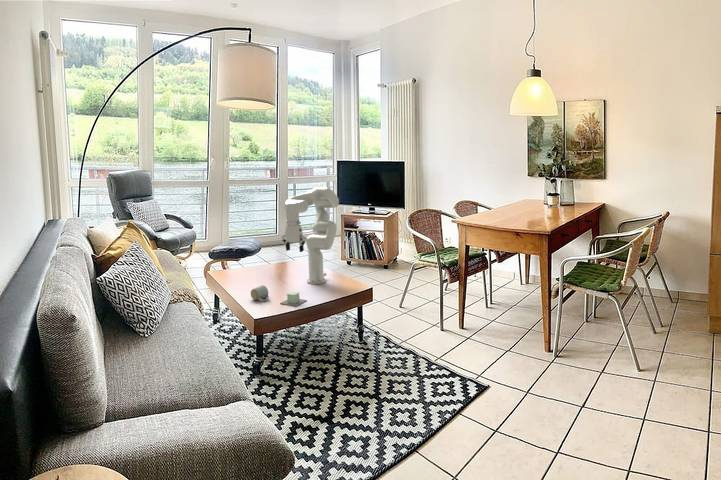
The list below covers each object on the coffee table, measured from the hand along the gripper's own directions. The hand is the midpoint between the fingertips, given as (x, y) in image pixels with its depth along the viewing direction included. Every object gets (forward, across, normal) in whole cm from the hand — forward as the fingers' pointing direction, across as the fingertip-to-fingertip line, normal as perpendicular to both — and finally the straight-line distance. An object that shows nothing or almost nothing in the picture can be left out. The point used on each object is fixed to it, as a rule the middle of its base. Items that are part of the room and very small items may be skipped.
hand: (294, 250), depth 284 cm
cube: (+26, -8, +16) cm, 31 cm away
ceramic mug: (+26, +13, +19) cm, 35 cm away
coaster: (+26, -8, +16) cm, 32 cm away
